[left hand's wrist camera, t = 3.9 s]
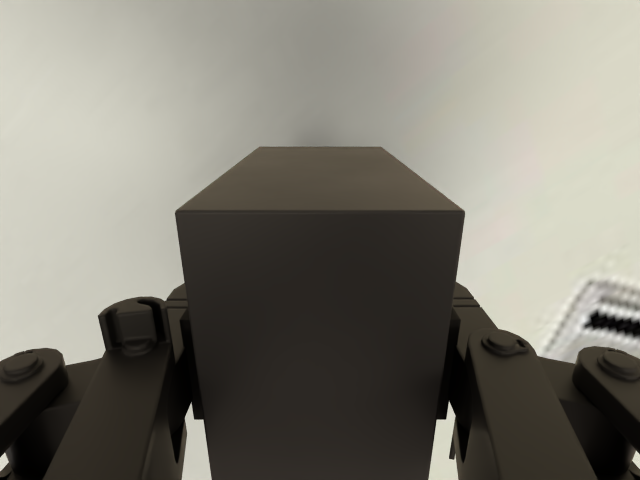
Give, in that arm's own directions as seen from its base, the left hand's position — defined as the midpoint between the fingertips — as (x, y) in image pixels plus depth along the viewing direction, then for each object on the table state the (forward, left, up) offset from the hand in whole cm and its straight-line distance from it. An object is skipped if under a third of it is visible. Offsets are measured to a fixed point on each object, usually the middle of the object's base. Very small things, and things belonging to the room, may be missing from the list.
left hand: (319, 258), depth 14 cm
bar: (+9, +2, -1) cm, 10 cm away
